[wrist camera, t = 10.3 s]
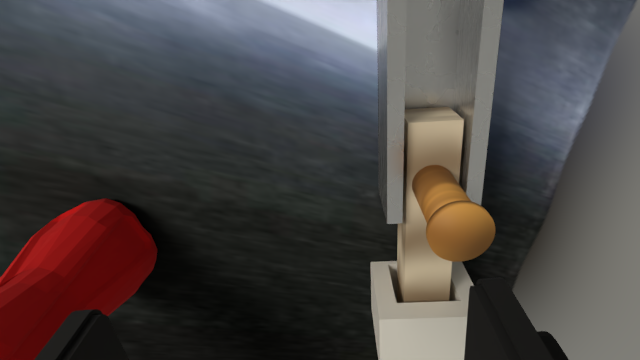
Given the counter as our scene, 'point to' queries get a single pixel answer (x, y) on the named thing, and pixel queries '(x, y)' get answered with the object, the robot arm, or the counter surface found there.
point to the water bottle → (72, 273)
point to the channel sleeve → (435, 82)
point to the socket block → (419, 318)
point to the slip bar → (435, 208)
